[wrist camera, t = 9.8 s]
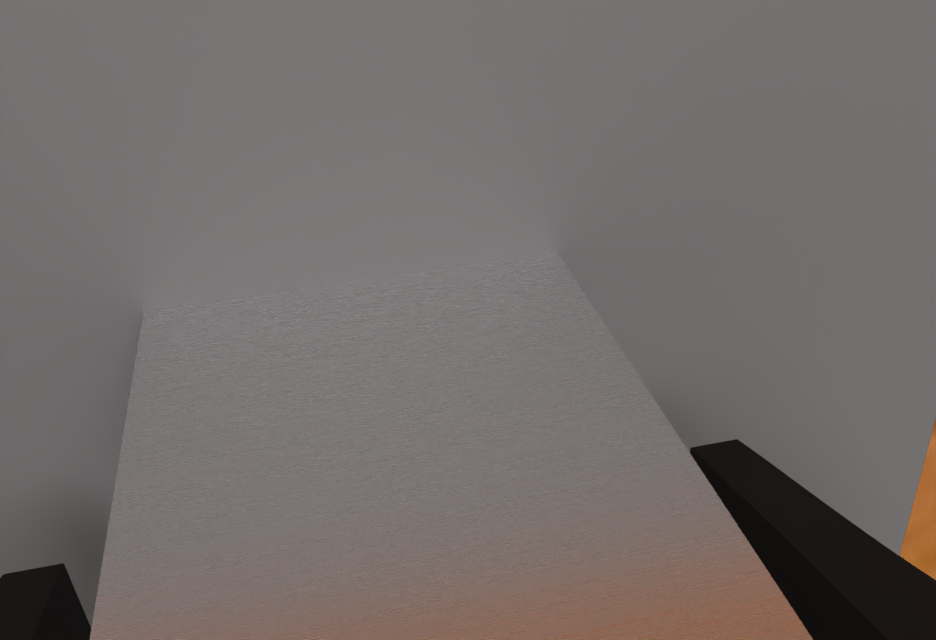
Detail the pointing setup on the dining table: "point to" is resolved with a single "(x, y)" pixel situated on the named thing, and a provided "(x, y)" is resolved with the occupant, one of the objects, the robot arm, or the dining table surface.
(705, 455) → the robot arm
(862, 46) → the block
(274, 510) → the square socket
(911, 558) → the dining table surface
